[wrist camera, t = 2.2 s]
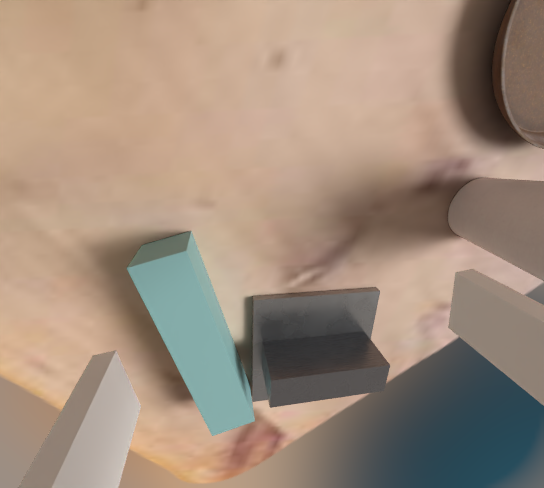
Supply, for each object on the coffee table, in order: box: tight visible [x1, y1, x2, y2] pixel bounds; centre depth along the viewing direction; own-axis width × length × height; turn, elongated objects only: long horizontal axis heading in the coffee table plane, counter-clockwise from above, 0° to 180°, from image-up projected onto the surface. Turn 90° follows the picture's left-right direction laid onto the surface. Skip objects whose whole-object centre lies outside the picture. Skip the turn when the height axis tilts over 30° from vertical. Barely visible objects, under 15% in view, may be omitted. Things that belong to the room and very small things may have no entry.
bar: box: [127, 231, 255, 436], centre depth 27 cm, size 4×20×5 cm, turn 14°
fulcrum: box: [252, 287, 390, 408], centre depth 30 cm, size 14×14×6 cm
